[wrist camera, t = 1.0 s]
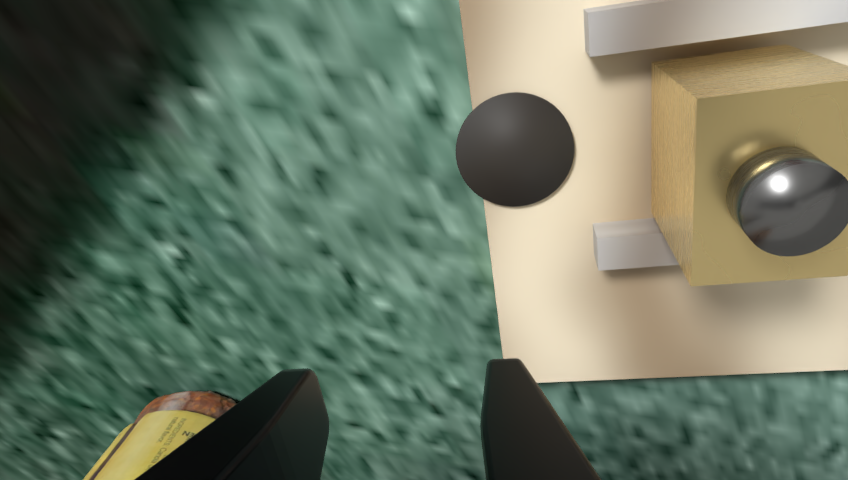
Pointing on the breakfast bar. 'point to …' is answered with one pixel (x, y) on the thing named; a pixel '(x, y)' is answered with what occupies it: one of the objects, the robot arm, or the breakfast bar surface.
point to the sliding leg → (751, 164)
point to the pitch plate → (621, 191)
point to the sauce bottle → (158, 433)
